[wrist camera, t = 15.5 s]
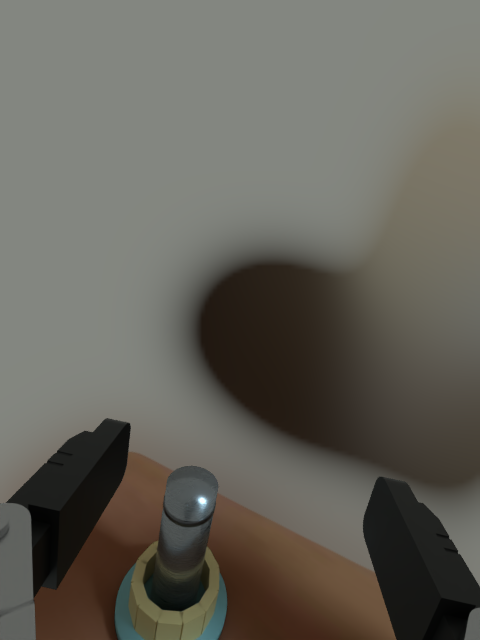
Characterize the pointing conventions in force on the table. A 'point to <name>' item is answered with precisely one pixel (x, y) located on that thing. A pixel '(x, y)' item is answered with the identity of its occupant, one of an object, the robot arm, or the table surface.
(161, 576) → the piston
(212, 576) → the ring collar
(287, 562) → the table surface
